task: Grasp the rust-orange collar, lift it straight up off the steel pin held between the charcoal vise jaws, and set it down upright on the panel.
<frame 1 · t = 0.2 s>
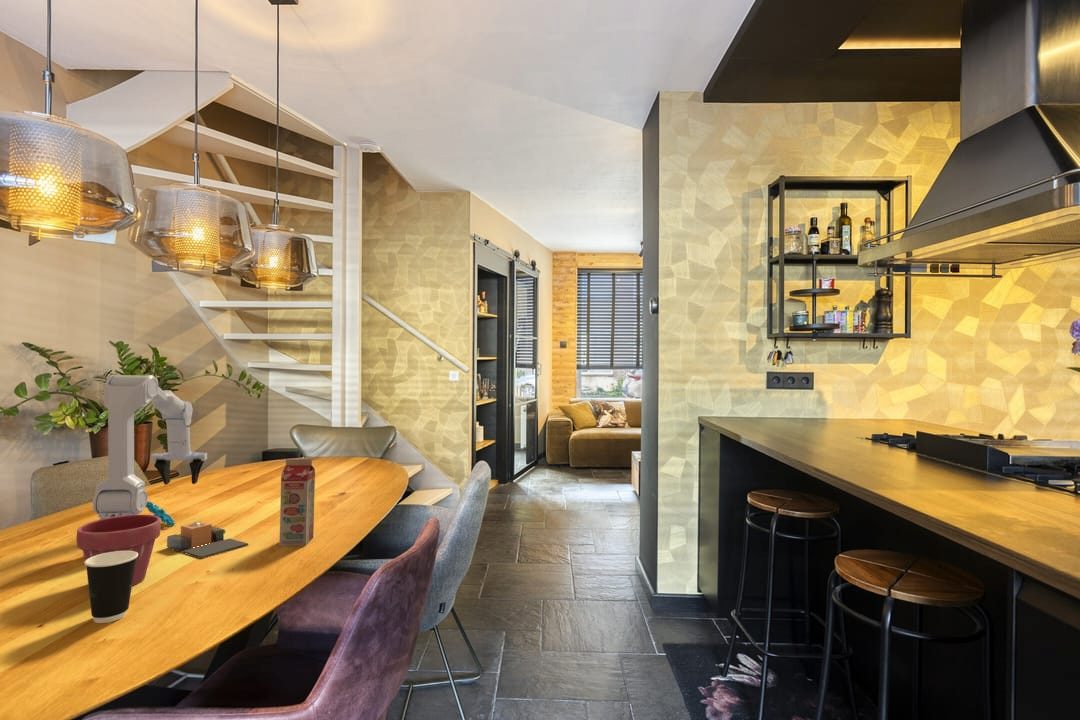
hand: (181, 483, 169), 11 cm above the table, tool pointing down, fingers open, 7 cm apart
panel: (216, 549, 141), on the table
juice carton: (296, 542, 148), on the table
vise: (195, 544, 145), on the table
collar: (195, 544, 145), resting in vise
plant pot: (118, 583, 119), on the table
dixie cup: (110, 618, 103), on the table
gear: (159, 527, 160), on the table
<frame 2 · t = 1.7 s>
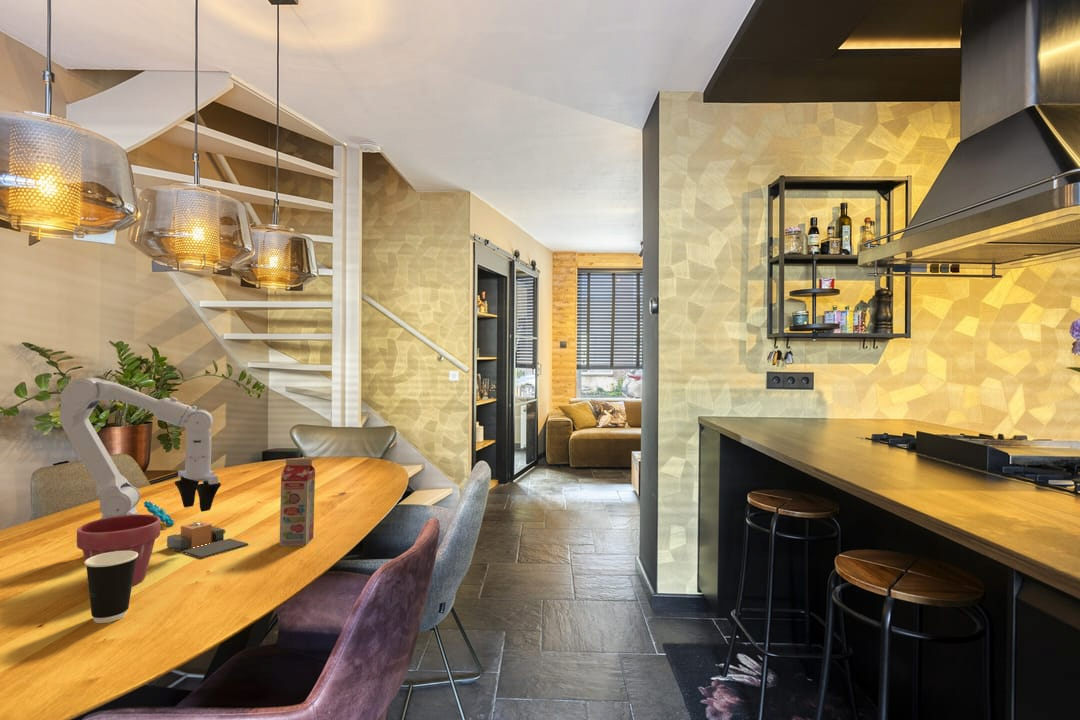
hand: (196, 508, 145), 9 cm above the table, tool pointing down, fingers open, 7 cm apart
nothing on the table moved.
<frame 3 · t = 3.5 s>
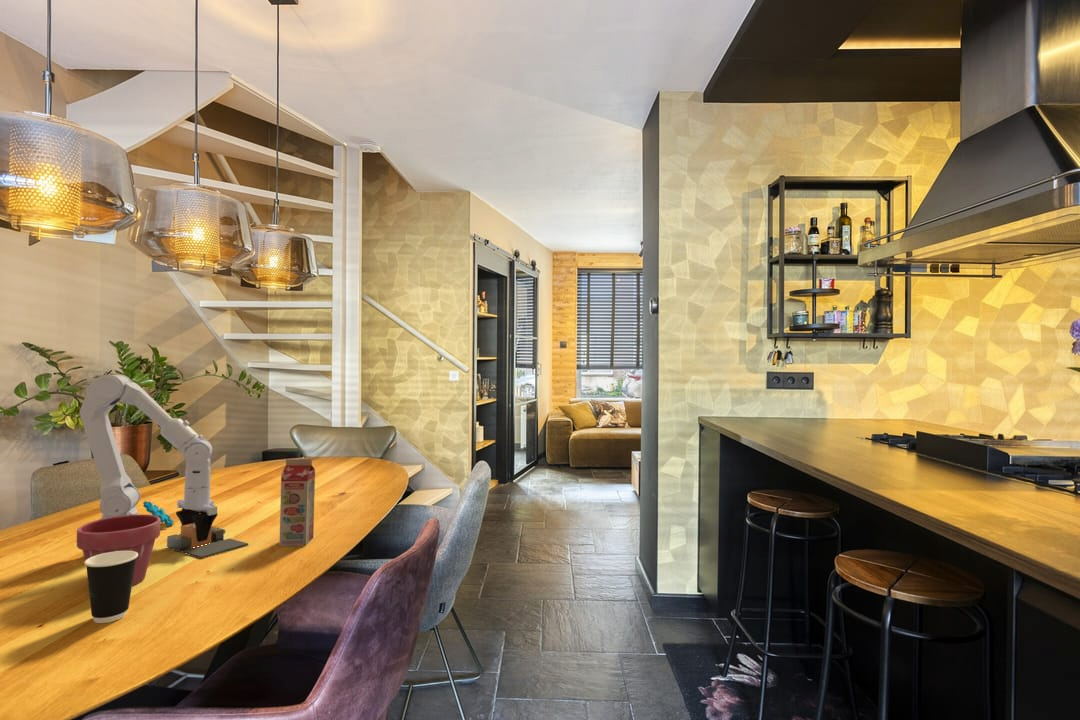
hand: (196, 538, 145), 1 cm above the table, tool pointing down, fingers closed on collar, 5 cm apart
collar: (195, 544, 145), resting in vise, touching gripper
everything else where it was.
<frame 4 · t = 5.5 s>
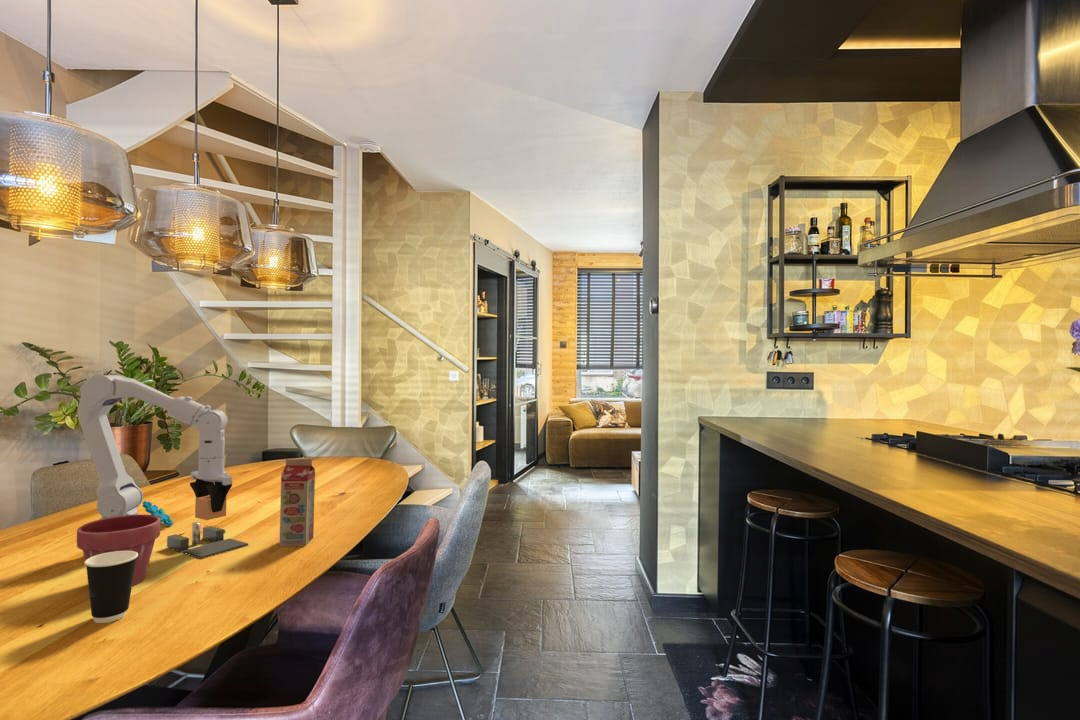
hand: (210, 510, 143), 10 cm above the table, tool pointing down, fingers closed on collar, 5 cm apart
collar: (210, 516, 143), point 8 cm above the table, touching gripper
everything else where it was.
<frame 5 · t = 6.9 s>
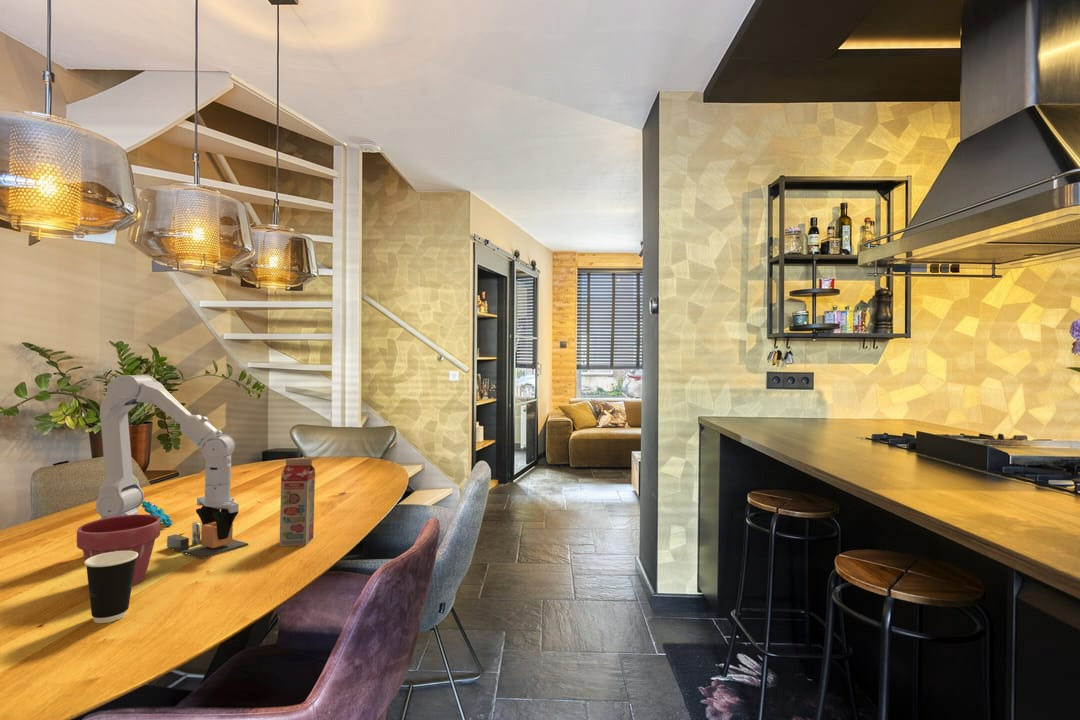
hand: (216, 536, 141), 3 cm above the table, tool pointing down, fingers closed on collar, 5 cm apart
collar: (216, 543, 141), point 1 cm above the table, touching gripper
everything else where it was.
when the fingers open (3 cm above the table, at t = 7.8 s): collar stays where it is, resting on panel.
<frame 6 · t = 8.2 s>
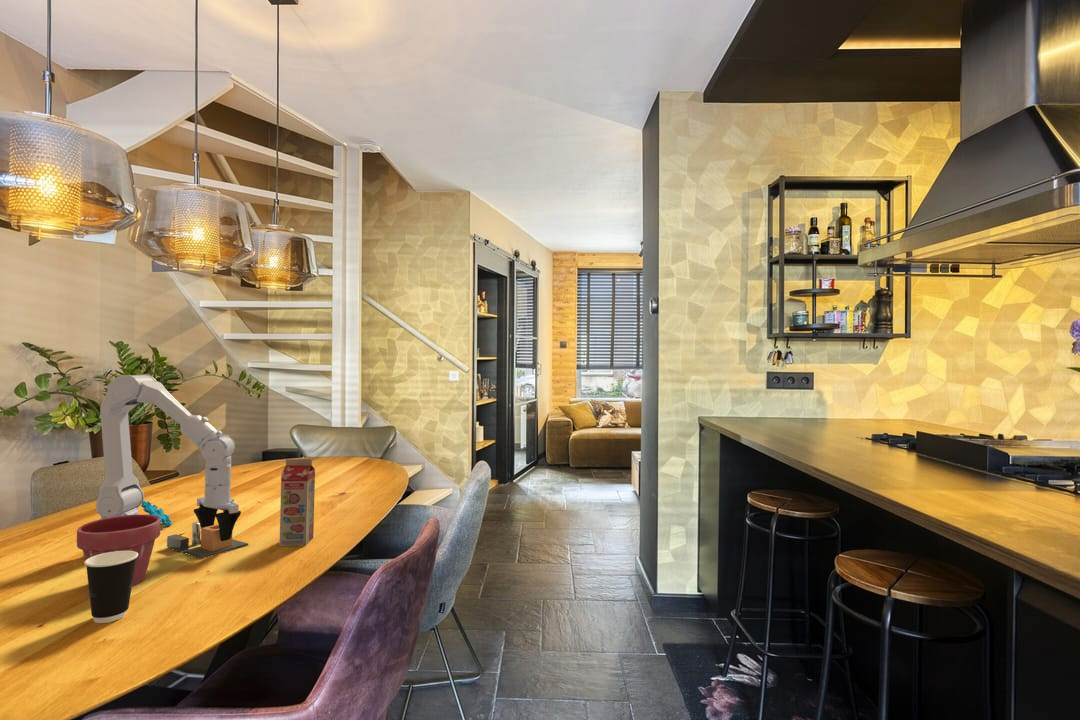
hand: (216, 537, 141), 3 cm above the table, tool pointing down, fingers open, 7 cm apart
collar: (216, 546, 141), resting on panel
everything else where it was.
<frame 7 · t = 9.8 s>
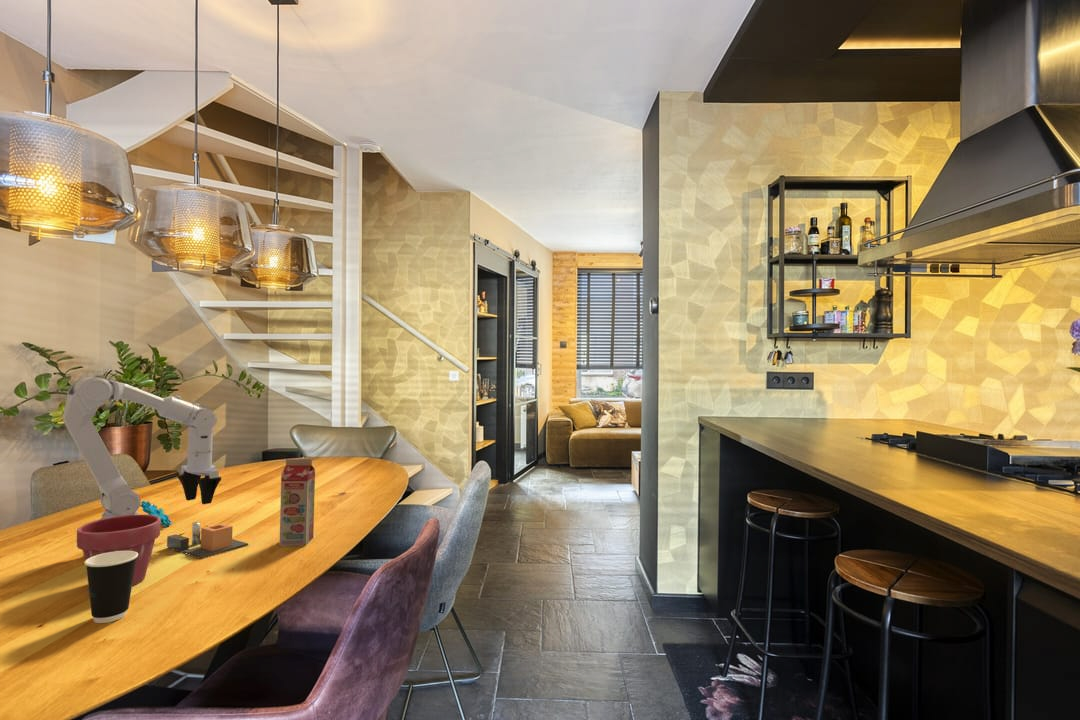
hand: (198, 501, 151), 9 cm above the table, tool pointing down, fingers open, 7 cm apart
nothing on the table moved.
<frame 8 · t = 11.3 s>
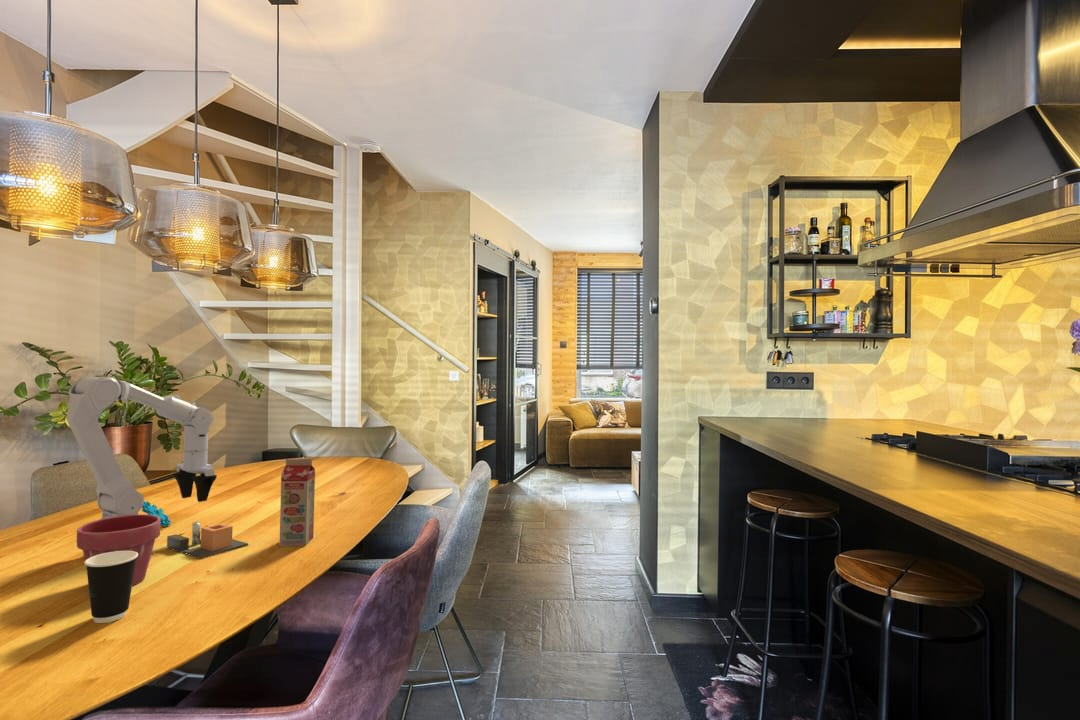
hand: (194, 499, 154), 9 cm above the table, tool pointing down, fingers open, 7 cm apart
at the end: collar inside the target area on the panel (0.1 cm from its centre), point 0.5 cm above the panel's base; collar tilted 0°; the gripper is holding nothing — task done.
